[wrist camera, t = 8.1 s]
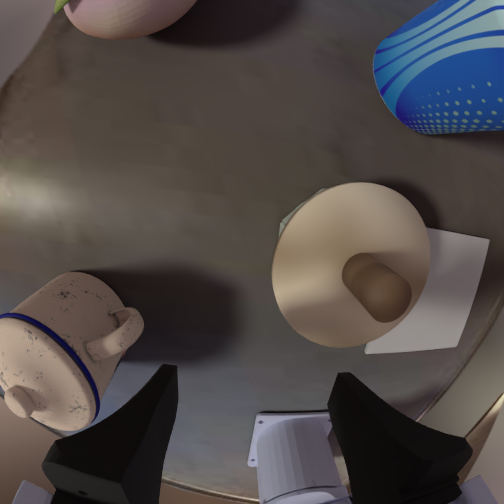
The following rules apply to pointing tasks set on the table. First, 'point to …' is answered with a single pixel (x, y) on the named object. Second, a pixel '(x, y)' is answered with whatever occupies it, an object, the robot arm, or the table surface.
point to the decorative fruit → (123, 16)
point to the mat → (440, 296)
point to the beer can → (446, 68)
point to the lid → (350, 264)
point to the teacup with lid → (64, 350)
